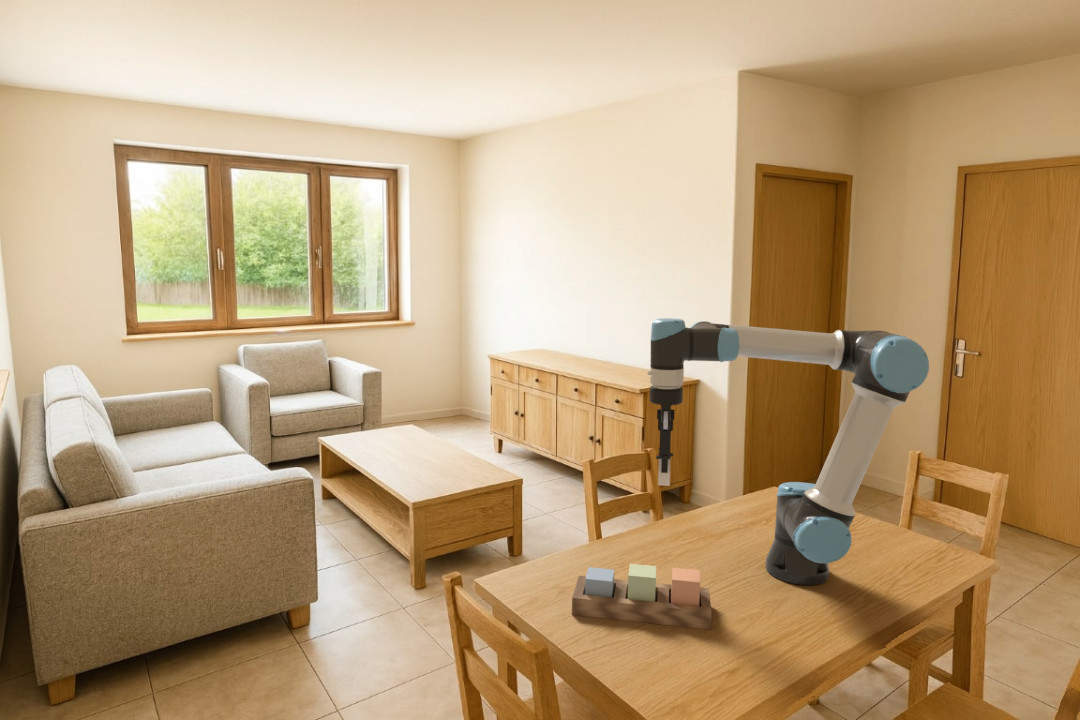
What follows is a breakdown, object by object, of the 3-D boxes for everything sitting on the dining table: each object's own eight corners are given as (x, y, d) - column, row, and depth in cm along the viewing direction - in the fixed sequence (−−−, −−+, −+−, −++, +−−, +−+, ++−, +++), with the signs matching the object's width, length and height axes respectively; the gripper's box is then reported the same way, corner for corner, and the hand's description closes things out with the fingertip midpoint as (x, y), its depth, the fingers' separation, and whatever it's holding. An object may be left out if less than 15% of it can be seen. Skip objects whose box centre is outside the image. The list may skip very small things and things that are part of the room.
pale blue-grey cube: (613, 598, 161) (614, 569, 160) (611, 610, 156) (612, 581, 155) (587, 595, 163) (588, 567, 162) (584, 608, 157) (585, 578, 156)
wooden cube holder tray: (708, 604, 160) (709, 588, 159) (710, 629, 149) (711, 612, 149) (578, 591, 166) (578, 575, 165) (571, 614, 155) (572, 597, 154)
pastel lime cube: (655, 595, 159) (656, 566, 158) (654, 607, 154) (655, 578, 153) (628, 592, 161) (629, 563, 160) (627, 605, 155) (628, 575, 154)
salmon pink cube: (697, 599, 158) (699, 570, 157) (698, 612, 152) (700, 582, 151) (670, 596, 159) (672, 567, 158) (670, 609, 153) (672, 579, 152)
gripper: (650, 380, 168) (648, 475, 171) (649, 390, 155) (647, 492, 158) (682, 381, 166) (679, 476, 170) (683, 391, 154) (680, 494, 157)
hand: (663, 484), depth 164 cm, fingers closed
